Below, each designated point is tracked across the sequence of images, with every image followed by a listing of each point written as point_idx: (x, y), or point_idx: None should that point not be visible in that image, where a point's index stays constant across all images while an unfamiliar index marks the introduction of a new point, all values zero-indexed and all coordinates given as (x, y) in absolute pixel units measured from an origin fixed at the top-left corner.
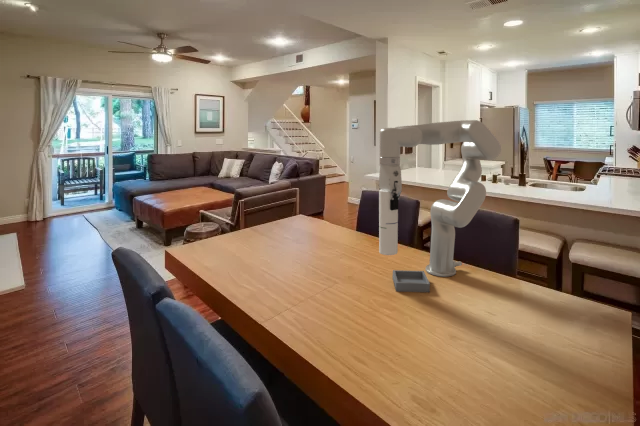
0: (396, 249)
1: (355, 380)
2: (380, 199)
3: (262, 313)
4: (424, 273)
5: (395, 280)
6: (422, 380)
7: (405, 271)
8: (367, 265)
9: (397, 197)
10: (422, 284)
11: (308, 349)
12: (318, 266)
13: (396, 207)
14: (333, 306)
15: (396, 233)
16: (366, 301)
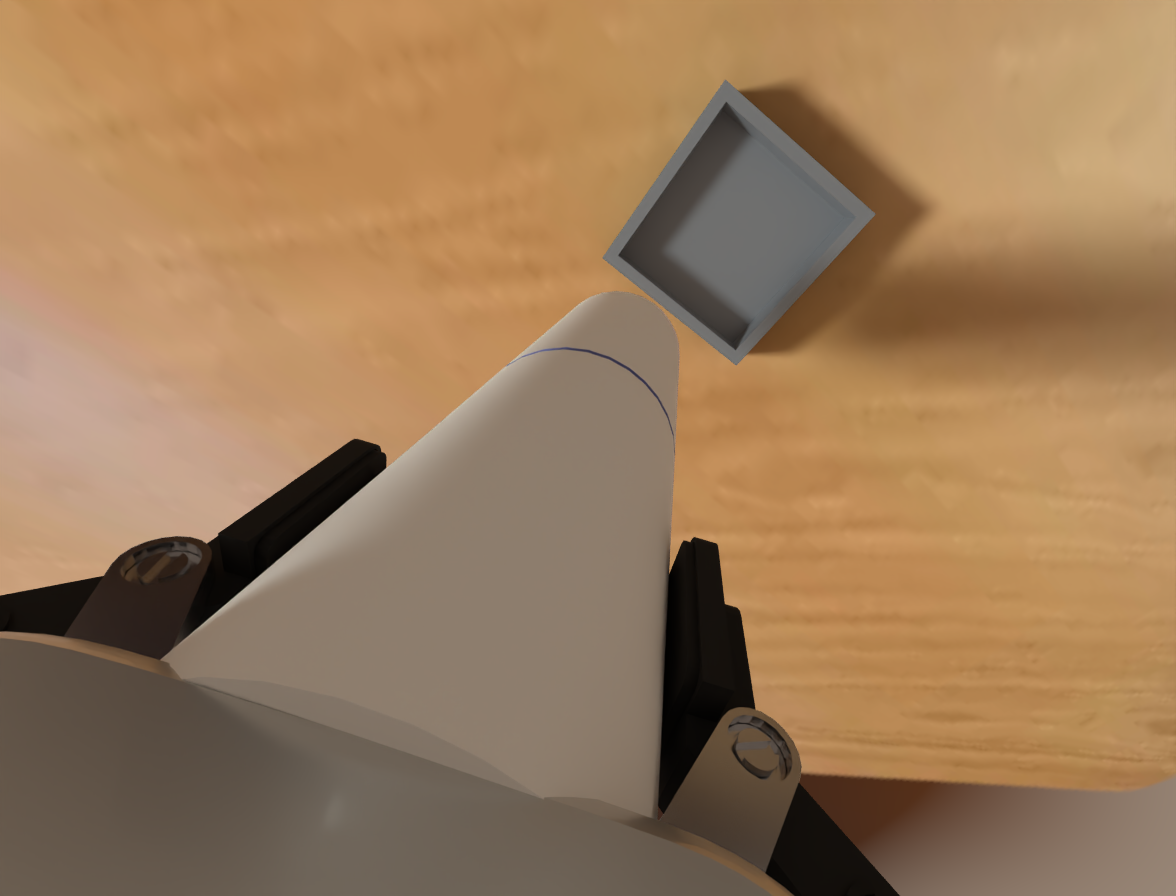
0: (676, 344)
1: (994, 761)
2: None
3: None
4: (755, 111)
5: (710, 344)
6: (1150, 678)
7: (656, 200)
8: (406, 252)
9: (822, 851)
10: (839, 251)
11: (816, 758)
12: None
13: (734, 618)
14: None
15: (674, 386)
16: (718, 509)
